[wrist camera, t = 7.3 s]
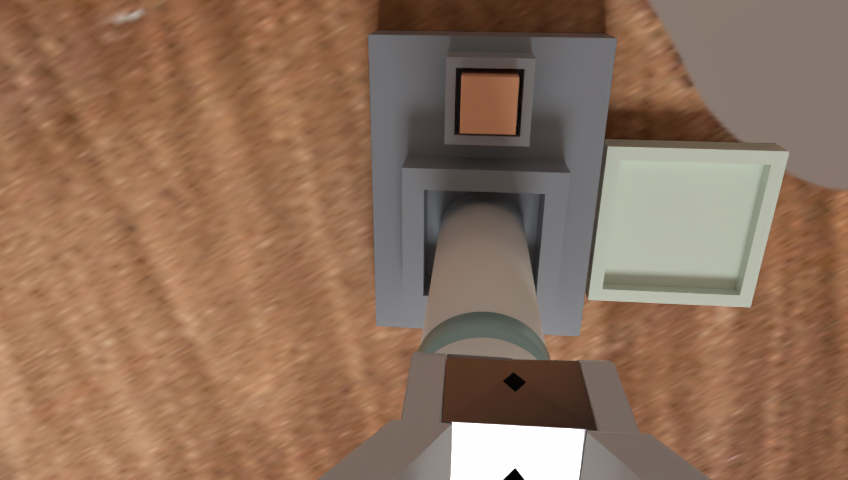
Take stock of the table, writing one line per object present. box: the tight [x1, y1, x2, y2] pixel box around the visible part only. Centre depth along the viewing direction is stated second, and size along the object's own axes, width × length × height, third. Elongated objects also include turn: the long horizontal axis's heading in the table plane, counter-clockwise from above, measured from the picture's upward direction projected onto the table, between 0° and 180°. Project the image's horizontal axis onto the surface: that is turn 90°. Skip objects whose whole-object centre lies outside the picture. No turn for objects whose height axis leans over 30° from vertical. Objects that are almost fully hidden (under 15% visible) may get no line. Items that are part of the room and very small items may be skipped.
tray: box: [585, 139, 789, 307], centre depth 37 cm, size 10×10×2 cm
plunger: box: [460, 68, 519, 135], centre depth 31 cm, size 3×3×3 cm
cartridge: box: [418, 192, 550, 360], centre depth 28 cm, size 5×5×17 cm
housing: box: [368, 30, 617, 336], centre depth 36 cm, size 13×18×6 cm
